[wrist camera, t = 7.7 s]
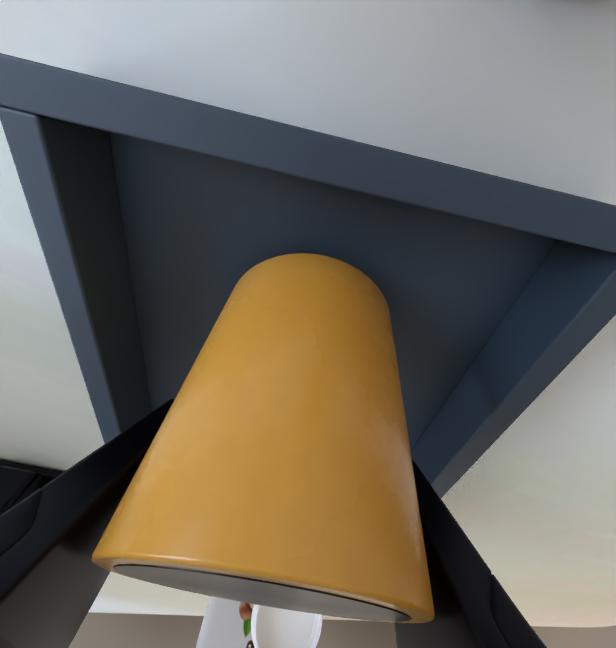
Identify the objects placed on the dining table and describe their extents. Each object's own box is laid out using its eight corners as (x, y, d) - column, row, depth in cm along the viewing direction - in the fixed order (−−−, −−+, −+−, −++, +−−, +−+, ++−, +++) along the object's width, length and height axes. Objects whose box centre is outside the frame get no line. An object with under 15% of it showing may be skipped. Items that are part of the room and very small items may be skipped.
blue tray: (382, 502, 21) (388, 553, 18) (150, 457, 20) (123, 504, 18) (600, 203, 9) (701, 226, 7) (82, 74, 9) (-26, 46, 6)
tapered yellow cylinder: (366, 624, 8) (531, 626, 4) (135, 584, 8) (8, 533, 3) (360, 385, 14) (419, 276, 9) (230, 357, 14) (229, 233, 9)
